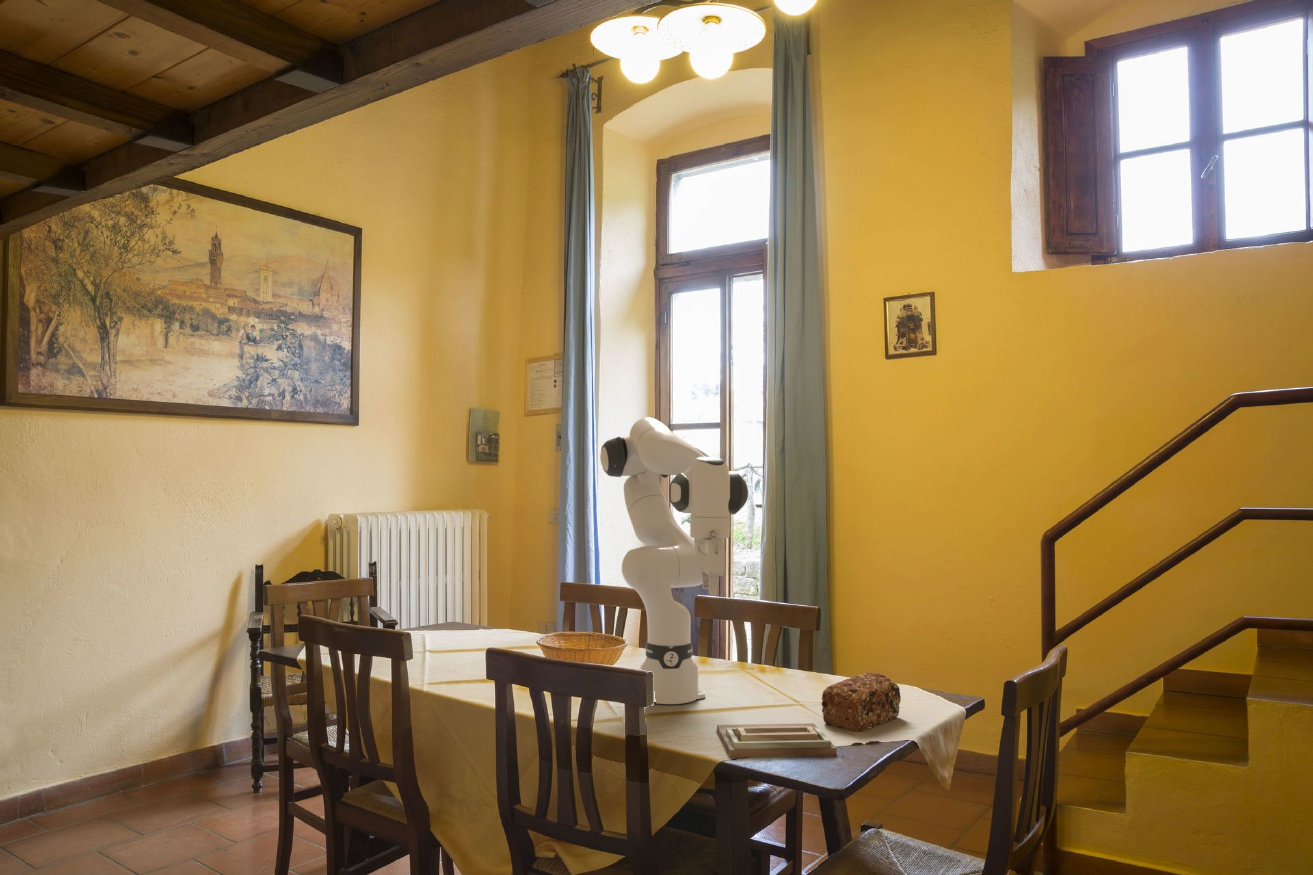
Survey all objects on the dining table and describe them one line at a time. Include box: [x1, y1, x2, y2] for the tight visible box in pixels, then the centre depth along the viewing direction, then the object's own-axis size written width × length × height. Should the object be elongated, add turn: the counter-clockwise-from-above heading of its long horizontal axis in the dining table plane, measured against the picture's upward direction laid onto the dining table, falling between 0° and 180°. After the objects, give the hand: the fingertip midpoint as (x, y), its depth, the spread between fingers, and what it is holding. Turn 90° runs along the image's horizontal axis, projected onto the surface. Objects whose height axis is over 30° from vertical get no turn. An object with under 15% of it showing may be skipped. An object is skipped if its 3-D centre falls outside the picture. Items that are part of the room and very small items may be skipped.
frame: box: [737, 726, 818, 742], centre depth 184 cm, size 6×16×2 cm, turn 94°
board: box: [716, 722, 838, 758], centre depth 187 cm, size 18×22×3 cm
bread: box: [821, 672, 902, 733], centre depth 205 cm, size 19×11×10 cm, turn 134°
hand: (709, 592), depth 194 cm, fingers open, 8 cm apart
